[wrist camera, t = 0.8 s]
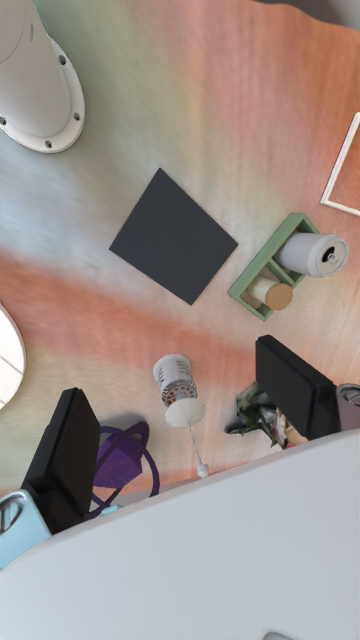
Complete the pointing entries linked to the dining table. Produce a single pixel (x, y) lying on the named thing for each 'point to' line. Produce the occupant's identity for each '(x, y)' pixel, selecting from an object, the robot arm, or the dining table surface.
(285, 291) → the spice jar
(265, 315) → the caddy
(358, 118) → the photo frame
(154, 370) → the grey rod with disc
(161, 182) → the mat
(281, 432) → the rose bouquet
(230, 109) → the dining table surface
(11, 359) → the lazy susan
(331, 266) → the can
